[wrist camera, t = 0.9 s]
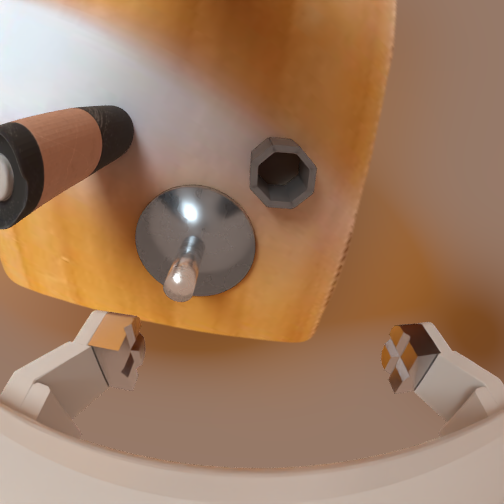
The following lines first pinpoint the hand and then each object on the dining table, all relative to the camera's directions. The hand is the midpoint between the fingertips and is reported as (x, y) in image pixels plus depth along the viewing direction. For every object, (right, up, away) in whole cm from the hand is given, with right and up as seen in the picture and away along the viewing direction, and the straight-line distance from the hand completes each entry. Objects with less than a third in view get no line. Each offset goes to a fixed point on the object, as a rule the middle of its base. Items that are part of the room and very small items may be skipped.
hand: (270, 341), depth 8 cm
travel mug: (-18, +18, +21) cm, 33 cm away
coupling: (+3, +13, +24) cm, 27 cm away
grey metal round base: (-8, +4, +29) cm, 30 cm away
